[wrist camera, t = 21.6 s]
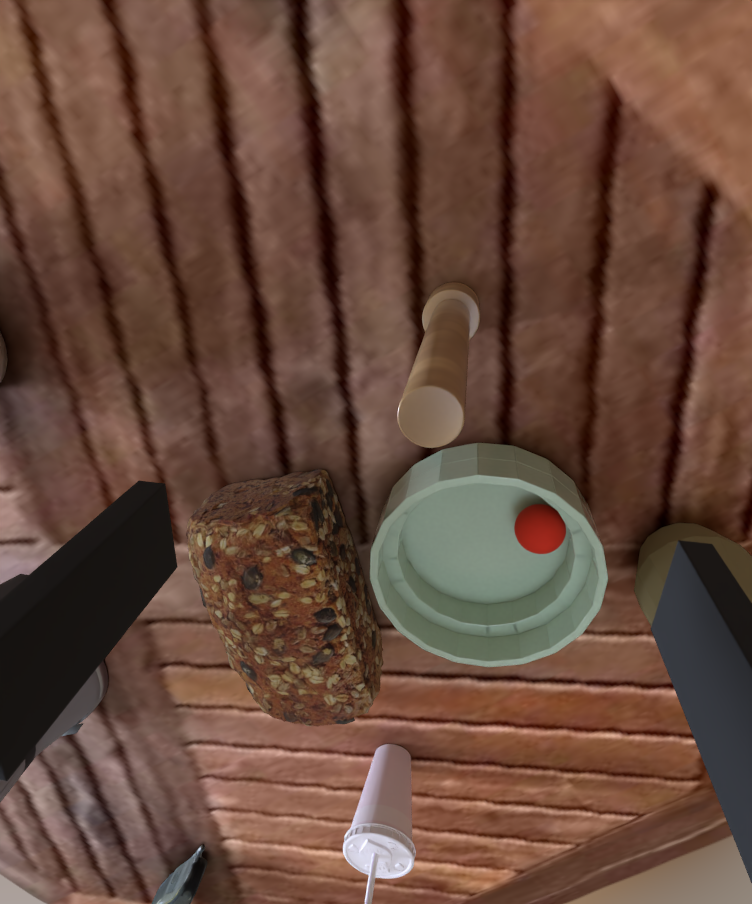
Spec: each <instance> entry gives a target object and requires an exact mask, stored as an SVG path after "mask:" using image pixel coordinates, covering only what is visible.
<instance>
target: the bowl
mask: <svg viewBox="0 0 752 904" xmlns="http://www.w3.org/2000/svg"><path fill="white" fill-rule="evenodd" d="M535 504H544V505H548V506H551V507H552V508H554V509H556V510H557V511H558V513H559V514H560V516H561V518H562V519H563V521H564V522H565V525H566V535H565V539H564V541H563V543H562V544H561V545H560V546H559V547H558V548H557V549H556V550H555V551H553V552H550V553H547V554H535V553H532V552H530V551H528V550H526V549H525V548H523V547H522V546H521V544H520V543H519V542H518V540H517V538H516V535H515V531H514V526H515V521H516V518H517V516H518V515H519V513H520V512H521V511H522V510H523V509H525V508H526V507H528V506H531V505H535ZM607 581H608V574H607V567H606V561H605V554H604V548H603V545H602V542H601V539H600V536H599V534H598V531H597V528H596V525H595V522H594V519H593V517H592V514H591V511H590V508H589V506H588V504H587V503H586V501H585V499H584V498H583V496H582V494H581V493H580V491H579V489H578V488H577V486H576V484H575V482H574V481H573V480H572V479H571V478H569V477H568V476H567V475H566V474H565V473H563V472H562V471H561V470H560V469H559V468H557V467H556V466H555V465H554V464H553V463H551V462H550V461H549V460H547V459H546V458H543V457H541V456H538V455H536V454H533V453H531V452H528V451H526V450H523V449H521V448H518V447H516V446H510V445H499V444H488V443H473V444H468V445H463V446H457V447H452V448H447V449H442V450H441V451H439V452H437V453H435V454H433V455H431V456H429V457H427V458H425V459H424V460H422V461H420V462H418V463H416V464H414V466H412V467H411V468H410V469H409V470H408V471H407V473H406V474H405V475H404V476H403V477H402V478H401V479H400V480H399V481H398V482H397V483H396V484H395V485H394V486H393V488H392V490H391V492H390V494H389V497H388V499H387V501H386V503H385V506H384V508H383V510H382V513H381V516H380V520H379V523H378V526H377V530H376V533H375V537H374V540H373V543H372V547H371V550H370V582H371V584H372V587H373V590H374V593H375V596H376V599H377V602H378V605H379V607H380V608H381V610H382V611H383V612H384V614H385V615H386V616H387V618H388V619H389V620H390V621H391V623H392V624H393V625H394V627H395V628H396V629H397V630H398V632H400V633H401V634H403V635H404V636H405V637H407V638H408V639H409V640H411V641H412V642H414V643H415V644H416V645H418V646H419V647H420V648H422V649H423V650H425V651H428V652H430V653H433V654H435V655H438V656H440V657H443V658H445V659H448V660H450V661H453V662H456V663H463V664H470V665H477V666H483V667H498V666H509V665H521V664H526V663H528V662H531V661H534V660H537V659H540V658H543V657H546V656H548V655H551V654H554V653H556V652H558V651H559V650H560V649H562V648H563V647H565V646H566V645H567V644H569V643H570V642H572V641H573V640H575V639H576V638H577V637H579V636H580V635H581V634H583V632H584V631H585V629H586V628H587V627H588V625H589V624H590V623H591V621H592V620H593V618H594V617H595V616H596V614H597V613H598V612H599V610H600V608H601V605H602V601H603V597H604V593H605V589H606V585H607Z"/></svg>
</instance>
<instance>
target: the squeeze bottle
mask: <svg viewBox="0 0 752 904" xmlns="http://www.w3.org/2000/svg"><path fill="white" fill-rule="evenodd" d="M678 540H681V541H690V542H699V543H708V544H713V546H714V547H715V549H716V550H717V552H718V553H719V555H720V556H721V558H722V559H723V561H724V562H725V564H726V565H727V567H728V568H729V570H730V571H731V573H732V574H733V576H734V577H735V579H736V580H737V582H738V583H739V585H740V586H741V588H742V589H743V591H744V592H745V594H746V595H747V597H748V598H749V600H750V601H751V603H752V556H751V555H750V554H749V553H748V552H747V551H746V550H745V549H744V548H743V547H742V546H741V545H739V544H737V543H735V542H733V541H731V540H729V539H727V538H726V537H724V536H722V535H720V534H718V533H716V532H714V531H712V530H710V529H708V528H705V527H703V526H700V525H698V524H695V523H676V524H672V525H669V526H665V527H662V528H660V529H659V530H657V531H656V532H654V533H653V534H651V535H650V536H648V538H647V539H646V540H645V542H644V543H643V545H642V546H641V548H640V553H639V559H638V566H637V573H636V580H635V588H634V592H635V594H636V597H637V600H638V602H639V605H640V607H641V609H642V611H643V613H644V614H645V616H646V618H647V620H648V621H649V623H650V625H651V626H652V623H653V620H654V617H655V613H656V610H657V607H658V604H659V601H660V597H661V594H662V591H663V588H664V584H665V581H666V578H667V575H668V572H669V568H670V565H671V562H672V559H673V555H674V552H675V549H676V546H677V543H678Z"/></svg>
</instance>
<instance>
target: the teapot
mask: <svg viewBox="0 0 752 904" xmlns="http://www.w3.org/2000/svg"><path fill="white" fill-rule="evenodd" d="M6 368H7V350H6V345H5V342H4V339H3V336H2V334H1V332H0V383H1V381H2V379H3V377H4V375H5V372H6Z"/></svg>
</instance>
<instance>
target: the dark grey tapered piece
mask: <svg viewBox="0 0 752 904" xmlns="http://www.w3.org/2000/svg"><path fill="white" fill-rule="evenodd" d="M204 850H205V845H201V846H200V847H199V849H198V850H197V851H196V853H195V854H194V855H193V856H192V857H191V858H190V859H189V860H188V861H186V862H184V863H183V864H181V865H180V866H179V867H178V868H177V869H176V870H175V871H174V872H173V873H172V874H171V875H170V876H169V877H168V878H167V879H166V880H165V881H164V882H163V883H162V885H161V886H160V887H159V889H158V891H157V893H156V895H155V897H154V900H153V902H152V904H190V903H191V902H192V900H193V898H194V896H195V894H196V891H197V889H198V887H199V884H200V882H201V879H202V877H203V874H204V872H205V869H206V866H207V860H206V859H204V858H203V857H202V852H203V851H204Z"/></svg>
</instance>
